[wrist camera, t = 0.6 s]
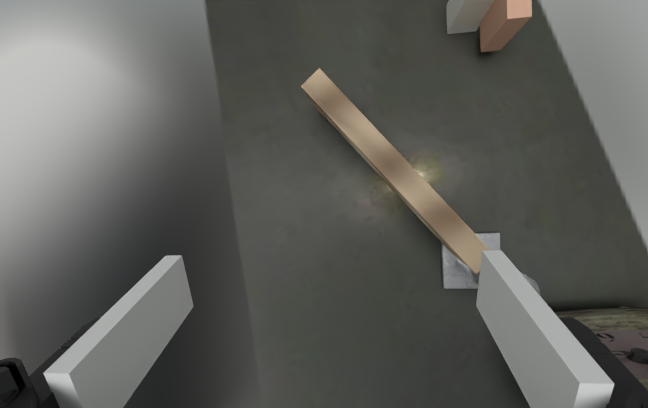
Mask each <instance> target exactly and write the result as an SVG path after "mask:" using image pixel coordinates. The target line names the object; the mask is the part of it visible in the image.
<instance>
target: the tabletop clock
mask: <svg viewBox="0 0 648 408" xmlns="http://www.w3.org/2000/svg"><path fill="white" fill-rule="evenodd" d="M554 313H555V314H556V315H557V317H573V318H575V319H576V320H578V321H579V322H581V323H582V324H584V325H585V326H587V327H589V328H590V329H591V330H592V331H593V332H594V333H595V334H596V336H597V337H598V338H599V339H600V340H601V342H602V343H604V344H605V345H606V346H607V347H608V348H609V349H610V351H611V353H612V354H614V355H615V356H616V357H617V358H618V359H619V360H620V361H621V362H622V363H623V364H624V365H625V367H626V368H627V369H628V370H629V371H630V372H631V373H632V374H633V375H634V376H635V377H636V378H637V379H638V380H639V381H640V383H641V384H642V385H643V386H644V387H645V388H646V389H647V390H648V308H629V307H625V306H621V307H618V308H603V309H580V310H569V311H557V312H554Z"/></svg>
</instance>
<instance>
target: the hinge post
mask: <svg viewBox="0 0 648 408" xmlns="http://www.w3.org/2000/svg"><path fill="white" fill-rule="evenodd" d="M475 234H476V235H477V237H478V238H479V239H480V240H481V241H482V242H483V243H484V244H485V245H486V246H487V247H488V248H489V249H490V250H500V233H498V232H477V233H475ZM440 242H441V241H440ZM441 270H442V287H443V288H444V289H464V288H478V284H479V275H480V271H479V272H478V273H477V274H475V273H474V272H473V271H472V270H471V269H470V268H469V267H468V266H467V265H466V264H464V263H463V262H462V261H461V260H459V259H458V258H457V257H455V256H454V255H453V254H452V253H451V252H450V251H449V250H448V249H447V248H446V247H445V246H444V244H443V243H442V242H441ZM520 273H521V272H520ZM521 274H522V273H521ZM522 275H523V276H524V278H525V279H526V280H527V281H528V282H529V284H530V285H531V286H532V287H533V288H534V289H535V291H536V292H537V293H538V294H539V295H540V290H539V287H538V285H537V284H536V282H535V281H534V280H533V279H531V278H530V277H528V276H526V275H524V274H522Z"/></svg>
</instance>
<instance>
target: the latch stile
mask: <svg viewBox="0 0 648 408" xmlns="http://www.w3.org/2000/svg"><path fill="white" fill-rule="evenodd" d="M446 11H447V34H456V33H465V32H475V31H476V30H477V29H478V27H479V26H480V47H481V52H488V51H499V50H501V49H502V48H503V47H504V46H505V45H506V43H507V42H508V41H509V40H510V39H511V38H512V37H513V36H514V35H515V34H516V33H517V32H518V31H519V30H520V29H521V27H522V26H523V25H524V24H525V23H526V22H527V21H528V20H529V19H530V18H531V17H532V4H531V0H449V2H448V4H447V6H446Z"/></svg>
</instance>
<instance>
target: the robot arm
mask: <svg viewBox="0 0 648 408" xmlns="http://www.w3.org/2000/svg"><path fill="white" fill-rule="evenodd" d="M476 306H477V308H478V310H479V312H480V314H481V316H482V318H483V320H484V321H485V323H486V325H487V327H488V329H489V331H490V333H491V335H492V336H493V338H494V340H495V342H496V344H497V346H498V348H499V350H500V351H501V353H502V355H503V357H504V359H505V361H506V363H507V364H508V366H509V368H510V370H511V372H512V374H513V376H514V378H515V379H516V381H517V383H518V385H519V387H520V389H521V391H522V393H523V394H524V396H525V398H526V400H527V402H528V404H529V406H530V408H648V390H647V389H646V388H645V387H644V386H643V385H642V384H641V383H640V381H639V380H638V379H637V378H636V377H635V376H634V375H633V374H632V373H631V372H630V371H629V370H628V369H627V368H626V367H625V365H624V364H623V363H622V362H621V361H620V360H619V359H618V358H617V357H616V356H615V355H614V354H612V353H611V351H610V349H609V348H608V347H607V346H606V345H605V344H604V343H602V342H601V340H600V339H599V338H598V337H597V336H596V334H595V333H594V332H593V331H592V330H591V329H590V328H589V327H587V326H585V325H584V324H582V323H581V322H579V321H578V320H576V319H575V318H573V317H557V315H556V314H555V313H554V312H553V311H552V309H551V308H550V307H549V306H548V305H547V304H546V302H545V301H544V300H543V299H542V298H541V297H540V295H539V294H538V293H537V292H536V291H535V289H534V288H533V287H532V286H531V285H530V284H529V282H528V281H527V280H526V279H525V278H524V276H523V275H522V274H521V273H520V272H519V271H518V269H517V268H516V267H515V266H514V265H513V263H512V262H511V261H510V260H509V259H508V258H507V256H506V255H505V254H504V253H503V252H502V251H501V250H486V251H482V256H481V265H480V275H479V284H478V293H477V303H476ZM192 308H193V302H192V298H191V294H190V289H189V285H188V281H187V276H186V272H185V268H184V263H183V259H182V256H165V257H164V258H163V259H162V260H161V261H160V262H159V263H158V264H157V265H156V266H155V267H154V268H153V269H151V271H150V272H148V273H147V274H146V275H145V276H144V277H143V278H142V279H141V280H140V281H139V282H138V283H137V284H136V285H135V286H134V287H133V288H132V289H131V290H130V291H128V293H126V294H125V296H123V297H122V298H121V299H120V300H119V301H118V302H117V303H116V304H115V305H114V306H113V307H112V308H111V309H110V310H109V311H108V312H107V313H105V315H103V316H102V317H101V318H96V319H95V320H93V321H92V322H90V323H88V324H87V325H85V326H83V327H82V328H81V329H80V330H79V331H78V332H77V333H75V334H74V335H73V336H72V337H71V340H68V341H67V342H66V343H65V344H64V345H63V346H61V349H58V350H57V351H56V352H55V353H54V354H53V355H52V356H51V357H50V358H48V360H46V361H45V362H44V363H43V364H42V365H41V366H40V367H39V368H38V369H37V370H35V371H34V372H33V373H32V374H31V375H30V376H28V374H27V372H26V370H25V367H24V365H23V363H22V361H21V360H20V359H17V358H7V359H3V360H0V408H123V407H124V405H125V404H126V402H127V401H128V400H129V398H130V397H131V395H132V394H133V392H134V391H135V390H136V388H137V387H138V385H139V384H140V382H141V381H142V379H143V378H144V377H145V375H146V374H147V372H148V371H149V369H150V368H151V366H152V365H153V364H154V362H155V361H156V359H157V358H158V356H159V355H160V354H161V352H162V351H163V349H164V348H165V346H166V345H167V343H168V342H169V341H170V339H171V338H172V336H173V335H174V333H175V332H176V331H177V329H178V328H179V326H180V325H181V323H182V322H183V320H184V319H185V318H186V316H187V315H188V313H189V312H190V310H191V309H192Z"/></svg>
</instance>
